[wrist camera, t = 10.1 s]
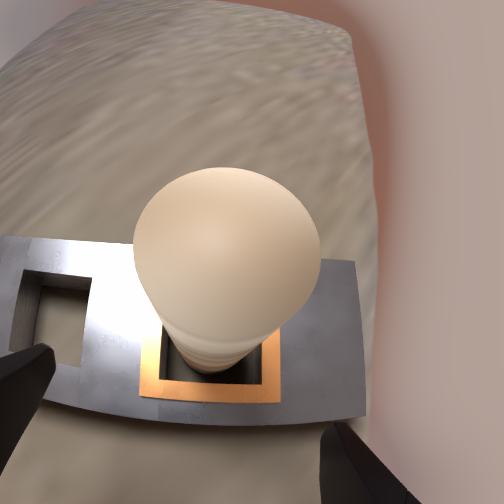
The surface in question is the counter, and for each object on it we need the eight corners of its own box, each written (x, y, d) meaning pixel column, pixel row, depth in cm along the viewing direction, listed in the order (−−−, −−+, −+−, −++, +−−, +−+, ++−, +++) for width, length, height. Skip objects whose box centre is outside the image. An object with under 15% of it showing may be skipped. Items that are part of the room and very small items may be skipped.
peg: (237, 379, 18) (315, 351, 6) (173, 367, 18) (109, 314, 5) (245, 319, 20) (321, 186, 7) (185, 308, 20) (163, 156, 7)
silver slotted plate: (336, 277, 22) (356, 259, 19) (344, 414, 18) (368, 415, 15) (-7, 250, 18) (-27, 231, 15) (-29, 368, 14) (-55, 361, 11)
